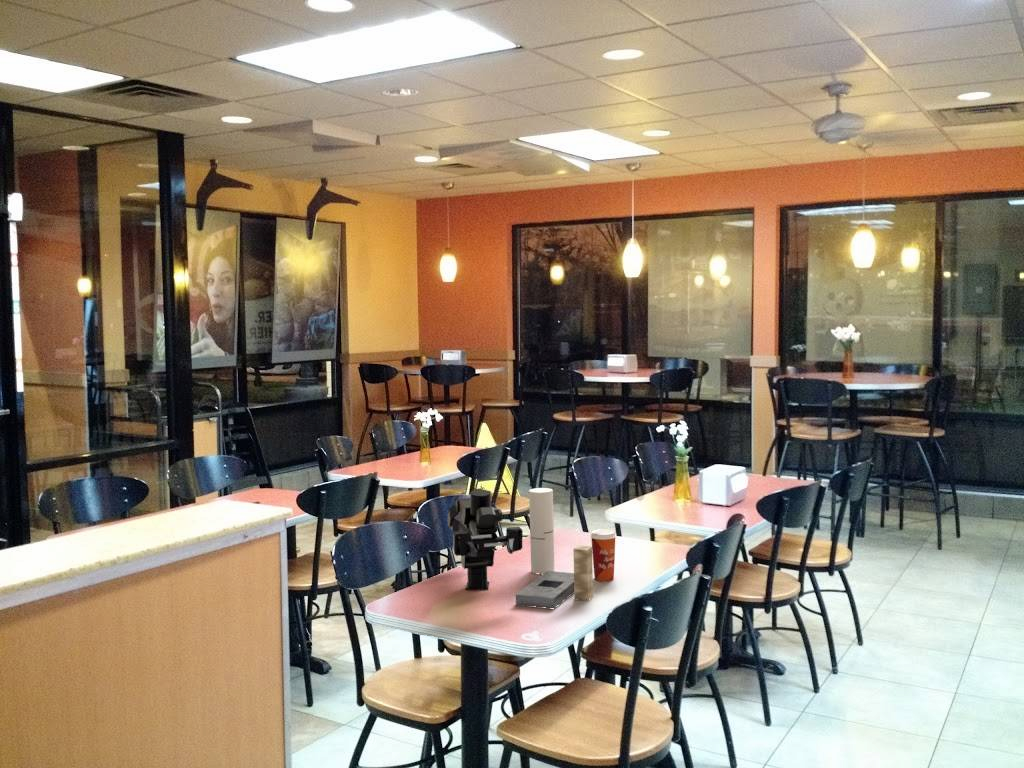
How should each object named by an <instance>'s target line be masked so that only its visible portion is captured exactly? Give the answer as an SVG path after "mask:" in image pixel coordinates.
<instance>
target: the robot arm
mask: <svg viewBox="0 0 1024 768" xmlns="http://www.w3.org/2000/svg"><path fill="white" fill-rule="evenodd" d="M469 495H470V496H469V498H458V499H456V500H455V504H453V505H452V506H451V507H450V508H449V509H448V514H447V526H448V528H450V530H451V531H452V532H453V534H452V550H453V554H454V556H460V563H461V566H462V568H463V570H466V569H467V582H466V585H465V590H467V591H469V590H471V591H479V590H480V591H481V590H489V588H490V581H488V567H494V558H495V551H496V550H495V549H496V548H497V546H498V547H500V546H506V549H507V553H509V554H510V555H513V553H514V552H518V551H521V550H522V549H523V539H524V538H523V534H524V533H523V531H524V530H523V529H522V528H521V527H520V526H510V527H509V526H507V527H506V532H505V534H506V535H501V536H498V535H497V532H498V531H499V530H498V526H497V524H498V523H499V522H502V521H503V510H502V509H501V508H498V507H493V506H492V491H491V490H488V489H482V488H481V487H479V488H474V490H472V491H470V493H469Z"/></svg>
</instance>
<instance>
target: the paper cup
mask: <svg viewBox="0 0 1024 768" xmlns="http://www.w3.org/2000/svg"><path fill="white" fill-rule="evenodd" d="M589 537H590V538H591V547H592V566H593V574H594V577H593V578H594V580H595V579H596V580H595V581H597V580H599V581H598V582H610V581H609V580H611V581H614V579H615V561H616V560H615V557H616V556H615V555H616V538H617V534H616V532H615V530H612V529H605V528H603V529H602V528H601V529H599V528H598V529H594V530H592V531H591V534H590V536H589Z"/></svg>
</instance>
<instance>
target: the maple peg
mask: <svg viewBox="0 0 1024 768" xmlns="http://www.w3.org/2000/svg"><path fill="white" fill-rule="evenodd" d="M572 551H573V573H574V593H573V594H574V596H573V597H574V600H576V599H583V600H582V601H586V600H589V599H590V598H591V597H592V598H593V597H594V585H593V584H594V579H593V578H594V577H593V574H594V569H593V553H592V546H590V545H589V546H586V545H577V546H576V547H574V548H573V550H572ZM592 598H591V599H592ZM591 599H590V600H591ZM590 600H589V601H590Z"/></svg>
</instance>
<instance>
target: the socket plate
mask: <svg viewBox="0 0 1024 768" xmlns="http://www.w3.org/2000/svg"><path fill="white" fill-rule="evenodd" d="M573 592H574V572H564V571H547V572H545V573H544V574H543V575H540V576H538V577H537V578H536V579H534V580H533V581H532V582H530V583H529V584H527V585H526V586H525V587H524V588H522V589H521V590H520V591H517V593H515V606H517V605H522V606H521V607H526V606H536V607H546V608H555V607H556V606H557V605H559V604H560V603H561V602H562V601H563V600H564V599H566V598H567V597H568V596H569V595H570V594H571V595H573V594H574V593H573ZM572 593H573V594H572ZM571 595H570V596H571ZM570 596H569V597H570ZM569 597H568V598H569ZM568 598H567V599H568ZM567 599H566V600H567ZM563 602H564V601H563ZM563 602H562V603H563ZM562 603H561V604H562ZM561 604H560V605H561ZM523 605H524V606H523ZM560 605H559V606H560ZM556 608H557V607H556ZM556 608H555V609H556Z"/></svg>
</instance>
